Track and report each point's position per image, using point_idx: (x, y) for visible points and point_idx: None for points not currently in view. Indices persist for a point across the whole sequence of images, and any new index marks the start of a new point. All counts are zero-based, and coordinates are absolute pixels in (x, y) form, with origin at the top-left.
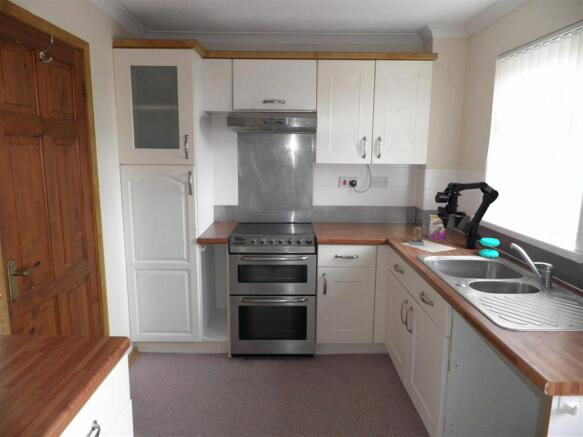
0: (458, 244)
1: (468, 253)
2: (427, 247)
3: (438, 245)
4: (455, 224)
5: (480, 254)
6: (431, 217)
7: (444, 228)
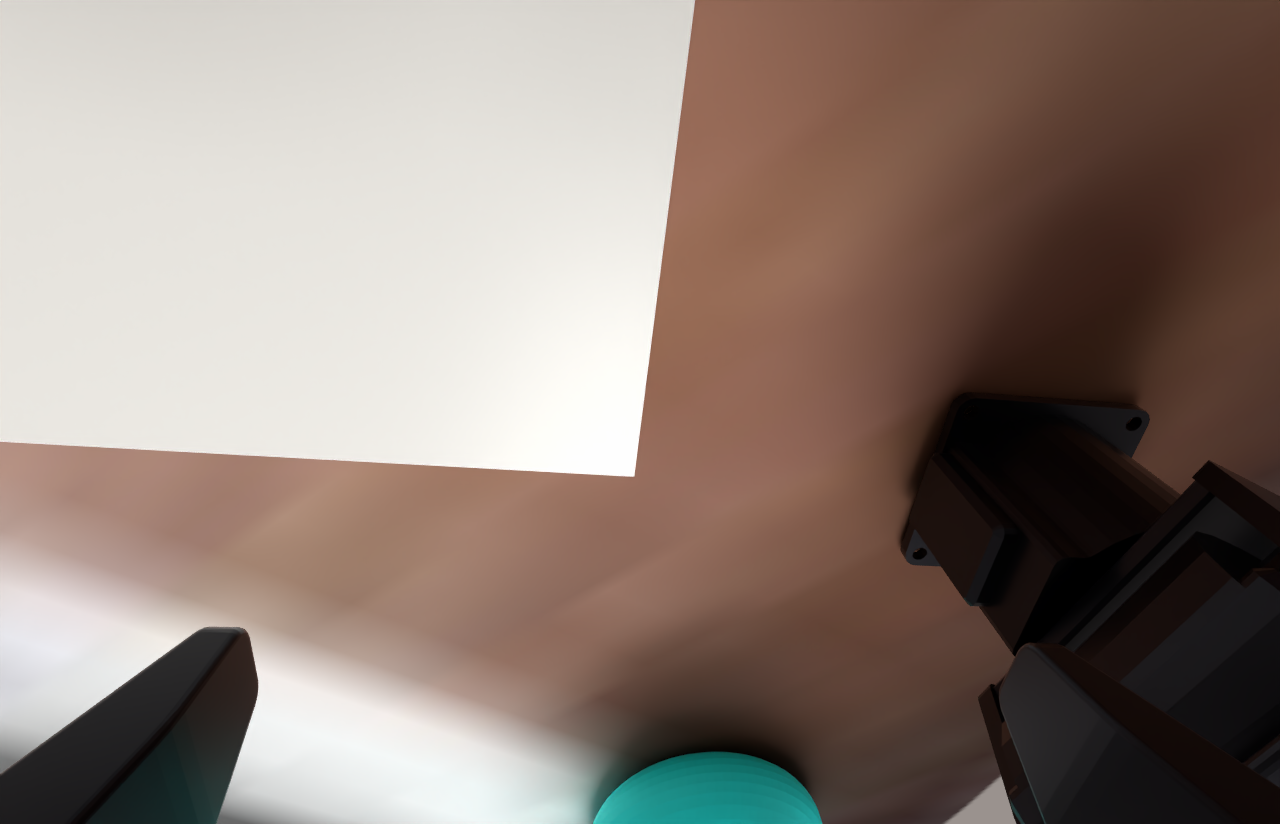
0: (1194, 145)
1: (603, 651)
2: (40, 23)
3: (536, 38)
4: (1133, 813)
5: (605, 805)
6: None
7: (204, 640)
